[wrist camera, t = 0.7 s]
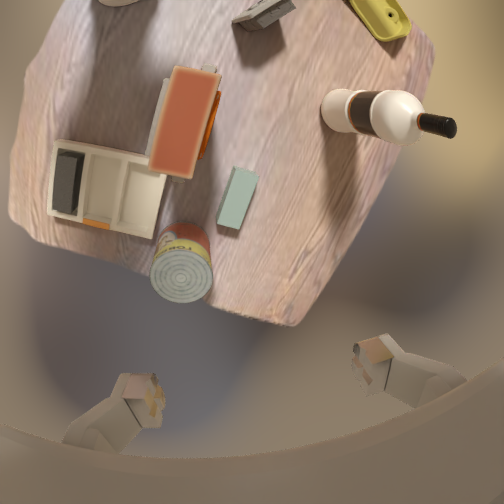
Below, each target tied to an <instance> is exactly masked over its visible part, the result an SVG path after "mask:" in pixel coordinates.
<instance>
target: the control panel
mask: <svg viewBox="0 0 504 504" xmlns="http://www.w3.org/2000/svg"><path fill="white" fill-rule="evenodd" d="M216 68H217V66H214V65H210V64H204V65H203V66H202V68H201V70H198V69H193V68H188V67H182V66H174V68H173V71H172V74H171V77H170V79H169V78H165V79H164V80H163V85H162V89H161V92H160V96H159V99H158V103H157V106H156V110H155V114H154V118H153V122H152V126H151V130H150V134H149V139H148V143H147V148H146V151H145V156H150V157H149V162H148V167H147V170H148V171H149V172H155V173H160V174H165V175H171V179H172V180H171V181H172V182H177V183H182V184H183V183H184V181H185V180H186V179H192V178H193V174H194V170H195V166H196V162H197V160H199V159H202V157H203V155H204V152H205V149H206V146H207V142H208V139H209V136H210V133H211V129H212V126H213V122H214V119H215V115H216V112H217V108H218V105H219V101H220V97H221V92H220V91H217V90H218V87H219V84H220V81H221V78H222V76H221V75H220V74H216V72H217V69H216Z"/></svg>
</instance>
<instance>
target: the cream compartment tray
mask: <svg viewBox="0 0 504 504" xmlns="http://www.w3.org/2000/svg"><path fill="white" fill-rule="evenodd" d="M66 151H67V152H73V153H79V154H84V155H85V159H84V165H83V171H82V178H81V185H80V193H79V202H78V207H77V208H76V209H75V210H74V211H73V212H72V213H71V214H70V213H66V212H62V211H57V210H53V193H54V182H55V172H56V164H57V157H58V155H59V154H62V153H64V152H66ZM149 157H150V156H145V155H143V154H139V153H134V152H129V151H125V150H120V149H115V148H110V147H105V146H99V145H94V144H88V143H83V142H77V141H71V140H64V139H59V140H56V141H54V145H53V152H52V159H51V167H50V176H49V187H48V202H47V215H51V216H55V217H59V218H63V219H67V220H72V221H76V222H80V223H82V224H85V225H89V226H94V227H98V228H102V229H106V230H114V231H118V232H122V233H126V234H131V235H135V236H139V237H144V238H148V239H152V237H153V234H154V230H155V225H156V221H157V216H158V212H159V207H160V203H161V199H162V195H163V191H164V187H165V183H166V179H167V175H165V174H160V173H155V172H149V171H148V170H147V167H148V162H149Z"/></svg>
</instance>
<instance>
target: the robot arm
mask: <svg viewBox="0 0 504 504" xmlns="http://www.w3.org/2000/svg"><path fill="white" fill-rule="evenodd" d="M98 1H99V2H100V3H102V4H104V5H107V6H124V5H128V4H132V3H134V2H137V1H139V0H98ZM353 352H354V353H355V356H354V357H353V359H352V370H353V374H354V376H355V378H356V379H357V380H359V381H361V388H362V390H363V391H364V393H365V395H366V396H370V395H373V394H377V393H380V392H383V391H385V392H386V393H388V394H390V395H391V396H393V397H395V398H397V399H399V400H400V401H402V402H404V403H406V404H408V405H410V406H412V407H413V408H415V409H413V410H411V411H409V412H407V413H404V414H402V415H400V416H397V417H395V418H392V419H390V420H387V421H385V422H382V423H379V424H377V425H374V426H371V427H368V428H366V429H362V430H360V431H356V432H353V433H350V434H347V435H344V436H340V437H336V438H333V439H329V440H325V441H321V442H317V443H313V444H309V445H305V446H300V447H295V448H290V449H285V450H279V451H272V452H266V453H259V454H251V455H242V456H231V457H217V458H157V457H142V456H132V455H122V454H119V453H120V452H121V451H122V450H123V449H124V448H125V447H126V445H128V443H129V442H130V441H131V440H132V439H133V438H134V437H135V436H136V435H137V434H138V433H139V431H140V430H141V429H142V428H160V427H161V423H162V418H163V416H162V414H161V411H162V410H163V409H164V408H165V395H164V391H163V389H162V387H160V386H159V385H157V384H158V378H157V376H156V374H154V373H122V374H120V376H119V378H118V380H117V383H116V385H115V387H114V389H113V392H112V394H111V396H110V398H106V399H105V400H103V401H102V402H100V403H99V404H98V405H96V406H95V407H93V408H92V409H91V410H89V411H88V412H86V413H85V414H84V415H82V416H81V417H79V418H78V419H76V420H75V421H74V422H72V423H71V424H70V425H69V427H68V429H67V431H66V433H65V435H64V438H63V440H62V442H61V443H59V442H56V441H52V440H49V439H45V438H42V437H39V436H35V435H33V434H29V433H26V432H24V431H21V430H18V429H16V428H13V427H11V426H8V425H5V424H0V504H504V357H502V358H501V359H500V360H498V361H497V362H496V363H494V364H493V365H491V366H490V367H488V368H487V369H485V370H484V371H482V372H481V373H479V374H478V375H476V376H475V377H473V378H472V379H470V380H469V381H467V380H466V379H465V378H464V377H463V376H462V375H461V374H460V373H459V372H458V371H457V369H456V368H455V367H454V366H451V365H448V364H444V363H441V362H438V361H434V360H431V359H428V358H425V357H421V356H418V355H415V354H411V353H405V352H404V351H403V350H402V349H401V348H400V347H399V345H397V343H396V342H395V341H394V340H393V339H392V338H391V337H390V336H389V335H388V334H383V335H380V336H377V337H374V338H371V339H368V340H364V341H360V342H357V343H355V344H354V346H353Z"/></svg>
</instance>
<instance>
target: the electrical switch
mask: <svg viewBox="0 0 504 504" xmlns="http://www.w3.org/2000/svg"><path fill="white" fill-rule="evenodd" d="M295 8H296V7H295V6H294V4H293V3H292V1H291V0H262V1H260V2H258V3H256V4H254V5H252V6H251V7H250V8H249V9H247V10H246V11H244V12H243V13H241V14H240V15H238V16H237V17H235V18H234V19H233V20H232V22H233V23H234V24H235V23H237V22H238V23H239V24H240V25H241V26H243V27H244V28H245V29H246V31H253V30H258V29H263V28H265V27H267V26H268V25H270V24H271V23H273V22H274V21H276V20H278V19H279V18H281V17H282V16H284V15H286V14H287V13H289V12H290V11H292V10H294V9H295ZM268 22H269V23H268Z"/></svg>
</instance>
